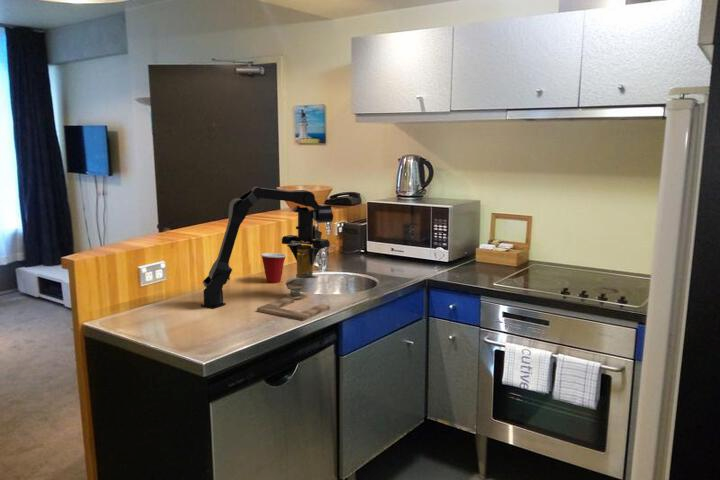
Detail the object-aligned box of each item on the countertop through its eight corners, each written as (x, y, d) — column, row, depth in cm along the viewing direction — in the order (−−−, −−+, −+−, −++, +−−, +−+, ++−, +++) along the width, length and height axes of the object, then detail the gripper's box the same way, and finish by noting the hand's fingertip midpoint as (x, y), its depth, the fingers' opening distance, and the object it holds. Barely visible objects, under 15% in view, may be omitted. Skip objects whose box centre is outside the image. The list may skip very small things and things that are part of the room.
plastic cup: (292, 280, 249) (291, 253, 247) (276, 285, 240) (275, 257, 238) (272, 277, 255) (271, 250, 253) (255, 282, 246) (255, 254, 243)
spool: (296, 301, 218) (296, 288, 217) (284, 298, 221) (283, 285, 220) (306, 297, 223) (306, 284, 223) (293, 295, 226) (293, 282, 226)
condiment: (295, 274, 227) (295, 244, 225) (317, 274, 228) (317, 244, 226) (296, 279, 220) (296, 247, 218) (318, 278, 221) (318, 247, 219)
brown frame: (303, 320, 195) (303, 317, 195) (257, 311, 205) (257, 307, 205) (329, 309, 209) (329, 305, 209) (285, 300, 219) (285, 297, 218)
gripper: (337, 223, 223) (337, 263, 225) (297, 219, 232) (297, 257, 235) (321, 226, 213) (321, 268, 216) (280, 222, 222) (280, 262, 225)
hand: (305, 263), depth 223 cm, fingers closed on condiment, 6 cm apart
